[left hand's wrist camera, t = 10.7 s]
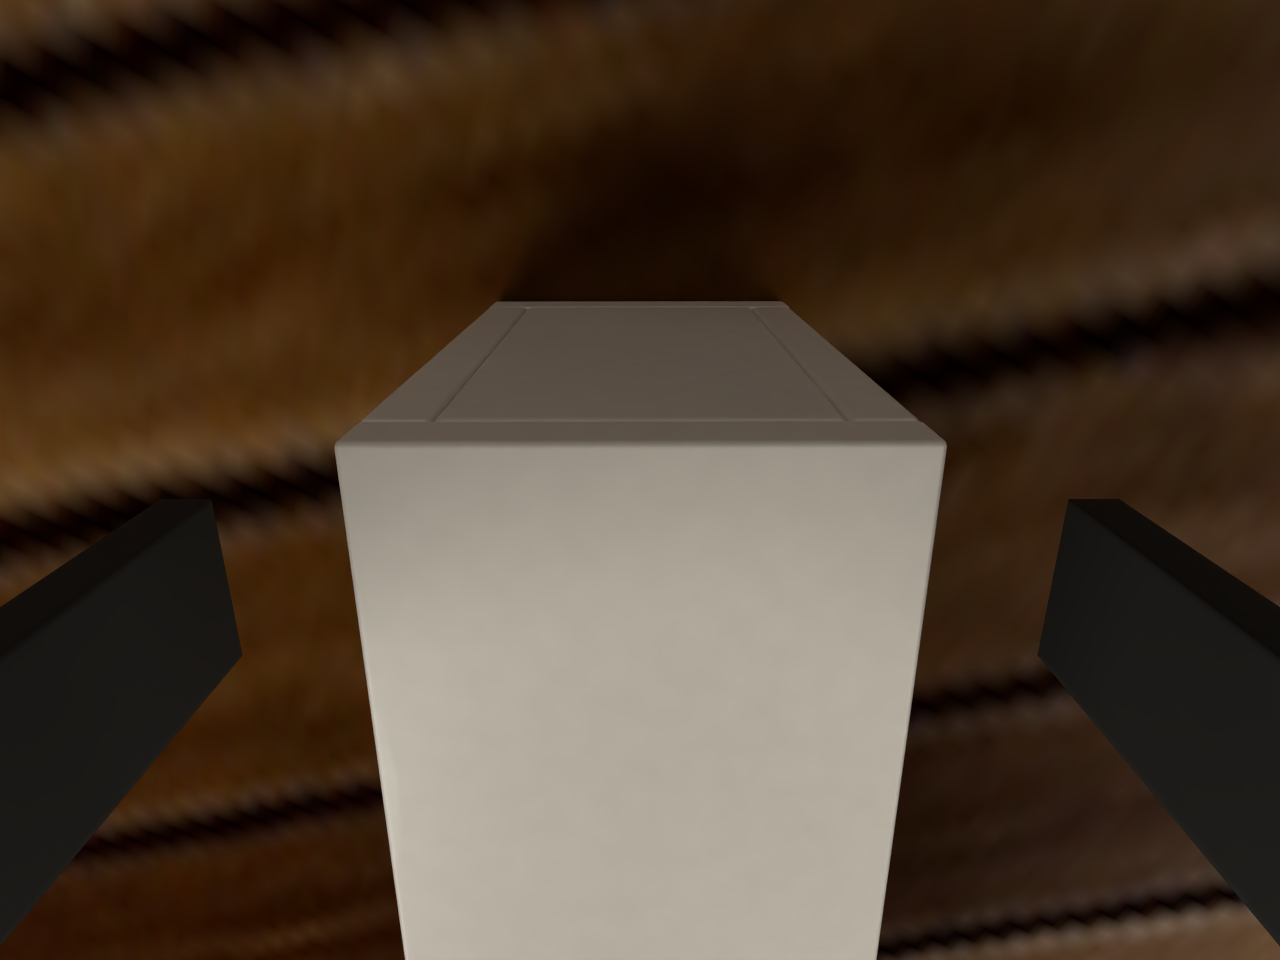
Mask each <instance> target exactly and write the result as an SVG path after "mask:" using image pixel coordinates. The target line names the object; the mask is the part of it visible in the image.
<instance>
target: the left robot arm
mask: <svg viewBox="0 0 1280 960" xmlns="http://www.w3.org/2000/svg"><path fill="white" fill-rule="evenodd" d="M241 656H242V651H241V646H240V641H239V636H238V631H237V626H236V621H235V616H234V611H233V606H232V601H231V596H230V591H229V586H228V581H227V576H226V571H225V566H224V561H223V556H222V551H221V545H220V540H219V535H218V530H217V525H216V520H215V515H214V510H213V505H212V500H211V499H161V500H159V501H158V502H156V503H155V504H153V505H152V506H150V507H149V508H147V509H146V510H144V511H143V512H141V513H140V514H138V515H137V516H135V517H134V518H132V519H131V520H129V521H128V522H126V523H125V524H123V525H122V526H120V527H119V528H117V529H116V530H115V531H113V532H112V533H110V534H109V535H107V536H106V537H104V538H103V539H101V540H100V541H98V542H97V543H95V544H94V545H92V546H91V547H89V548H88V549H86V550H85V551H83V552H82V553H80V554H79V555H77V556H76V557H74V558H73V559H71V560H70V561H68V562H67V563H65V564H64V565H62V566H61V567H59V568H58V569H56V570H55V571H54V572H52V573H51V574H49V575H48V576H46V577H45V578H43V579H42V580H40V581H39V582H37V583H36V584H34V585H33V586H31V587H30V588H28V589H27V590H25V591H24V592H22V593H21V594H19V595H18V596H16V597H15V598H13V599H12V600H10V601H9V602H7V603H6V604H4V605H3V606H1V607H0V946H1V944H2V943H3V942H4V941H5V940H6V938H7V937H8V936H9V935H10V934H11V932H12V931H13V930H14V929H15V928H16V926H17V925H18V924H19V923H20V922H21V920H22V919H23V918H24V917H25V916H26V914H27V913H28V912H29V911H30V910H31V908H32V907H33V906H34V905H35V904H36V902H37V901H38V900H39V899H40V898H41V896H42V895H43V894H44V893H45V892H46V890H47V889H48V888H49V887H50V886H51V884H52V883H53V882H54V881H55V880H56V878H57V877H58V876H59V875H60V874H61V872H62V871H63V870H64V869H65V868H66V866H67V865H68V864H69V863H70V862H71V860H72V859H73V858H74V857H75V856H76V854H77V853H78V852H79V851H80V850H81V848H82V847H83V846H84V845H85V844H86V842H87V841H88V840H89V839H90V838H91V836H92V835H93V834H94V833H95V832H96V830H97V829H98V828H99V827H100V826H101V824H102V823H103V822H104V821H105V820H106V818H107V817H108V816H109V815H110V813H111V812H112V811H113V810H114V809H115V807H116V806H117V805H118V804H119V803H120V801H121V800H122V799H123V798H124V797H125V795H126V794H127V793H128V792H129V791H130V789H131V788H132V787H133V786H134V785H135V783H136V782H137V781H138V780H139V779H140V777H141V776H142V775H143V774H144V773H145V771H146V770H147V769H148V768H149V767H150V765H151V764H152V763H153V762H154V761H155V759H156V758H157V757H158V756H159V755H160V753H161V752H162V751H163V750H164V749H165V747H166V746H167V745H168V744H169V743H170V741H171V740H172V739H173V738H174V737H175V735H176V734H177V733H178V732H179V731H180V729H181V728H182V727H183V726H184V725H185V723H186V722H187V721H188V720H189V719H190V717H191V716H192V715H193V714H194V713H195V711H196V710H197V709H198V708H199V707H200V705H201V704H202V703H203V702H204V701H205V699H206V698H207V697H208V696H209V695H210V693H211V692H212V691H213V690H214V689H215V687H216V686H217V685H218V684H219V683H220V681H221V680H222V679H223V678H224V677H225V675H226V674H227V673H228V672H229V671H230V669H231V668H232V667H233V666H234V665H235V663H236V662H237V661H238V660H239V659H240V657H241ZM1038 656H1039V657H1040V659H1041V660H1042V661H1043V662H1044V663H1045V665H1046V666H1047V667H1048V668H1049V669H1050V671H1051V672H1052V673H1053V674H1054V675H1055V677H1056V678H1057V679H1058V680H1059V681H1060V683H1061V684H1062V685H1063V686H1064V687H1065V689H1066V690H1067V691H1068V692H1069V693H1070V695H1071V696H1072V697H1073V698H1074V699H1075V701H1076V702H1077V703H1078V704H1079V705H1080V707H1081V708H1082V709H1083V710H1084V711H1085V713H1086V714H1087V715H1088V716H1089V717H1090V719H1091V720H1092V721H1093V722H1094V723H1095V725H1096V726H1097V727H1098V728H1099V729H1100V731H1101V732H1102V733H1103V734H1104V735H1105V737H1106V738H1107V739H1108V740H1109V741H1110V743H1111V744H1112V745H1113V746H1114V747H1115V749H1116V750H1117V751H1118V752H1119V753H1120V755H1121V756H1122V757H1123V758H1124V759H1125V761H1126V762H1127V763H1128V764H1129V765H1130V767H1131V768H1132V769H1133V770H1134V771H1135V773H1136V774H1137V775H1138V776H1139V777H1140V779H1141V780H1142V781H1143V782H1144V783H1145V785H1146V786H1147V787H1148V788H1149V789H1150V791H1151V792H1152V793H1153V794H1154V795H1155V797H1156V798H1157V799H1158V800H1159V801H1160V803H1161V804H1162V805H1163V806H1164V807H1165V809H1166V810H1167V811H1168V812H1169V813H1170V815H1171V816H1172V817H1173V818H1174V819H1175V821H1176V822H1177V823H1178V824H1179V826H1180V827H1181V828H1182V829H1183V830H1184V832H1185V833H1186V834H1187V835H1188V836H1189V838H1190V839H1191V840H1192V841H1193V842H1194V844H1195V845H1196V846H1197V847H1198V848H1199V850H1200V851H1201V852H1202V853H1203V854H1204V856H1205V857H1206V858H1207V859H1208V860H1209V862H1210V863H1211V864H1212V865H1213V866H1214V868H1215V869H1216V870H1217V871H1218V872H1219V874H1220V875H1221V876H1222V877H1223V878H1224V880H1225V881H1226V882H1227V883H1228V884H1229V886H1230V887H1231V888H1232V889H1233V890H1234V892H1235V893H1236V894H1237V895H1238V896H1239V898H1240V899H1241V900H1242V901H1243V902H1244V904H1245V905H1246V906H1247V907H1248V908H1249V910H1250V911H1251V912H1252V913H1253V914H1254V916H1255V917H1256V918H1257V919H1258V920H1259V922H1260V923H1261V924H1262V925H1263V926H1264V928H1265V929H1266V930H1267V931H1268V932H1269V934H1270V935H1271V936H1272V937H1273V938H1274V940H1275V941H1276V942H1277V943H1278V944H1279V946H1280V607H1279V606H1277V605H1276V604H1274V603H1273V602H1271V601H1270V600H1268V599H1267V598H1265V597H1264V596H1262V595H1261V594H1259V593H1258V592H1256V591H1255V590H1253V589H1252V588H1250V587H1249V586H1247V585H1246V584H1244V583H1243V582H1241V581H1240V580H1238V579H1237V578H1235V577H1234V576H1232V575H1231V574H1229V573H1228V572H1227V571H1225V570H1224V569H1222V568H1221V567H1219V566H1218V565H1216V564H1215V563H1213V562H1212V561H1210V560H1209V559H1207V558H1206V557H1204V556H1203V555H1201V554H1200V553H1198V552H1197V551H1195V550H1194V549H1192V548H1191V547H1189V546H1188V545H1186V544H1185V543H1183V542H1182V541H1180V540H1179V539H1177V538H1176V537H1174V536H1173V535H1171V534H1170V533H1168V532H1167V531H1166V530H1164V529H1163V528H1161V527H1160V526H1158V525H1157V524H1155V523H1154V522H1152V521H1151V520H1149V519H1148V518H1146V517H1145V516H1143V515H1142V514H1140V513H1139V512H1137V511H1136V510H1134V509H1133V508H1131V507H1130V506H1128V505H1127V504H1125V503H1124V502H1122V501H1121V500H1119V499H1069V500H1068V505H1067V510H1066V515H1065V520H1064V525H1063V530H1062V535H1061V540H1060V546H1059V551H1058V556H1057V561H1056V566H1055V571H1054V576H1053V581H1052V586H1051V591H1050V596H1049V601H1048V606H1047V611H1046V616H1045V621H1044V626H1043V631H1042V636H1041V641H1040V646H1039V652H1038Z"/></svg>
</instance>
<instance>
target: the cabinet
mask: <svg viewBox="0 0 1280 960" xmlns="http://www.w3.org/2000/svg"><path fill="white" fill-rule="evenodd" d="M334 448H335V455H336V462H337V469H338V477H339V484H340V491H341V498H342V505H343V513H344V520H345V527H346V534H347V542H348V549H349V556H350V563H351V571H352V578H353V585H354V592H355V600H356V607H357V614H358V621H359V628H360V636H361V643H362V650H363V657H364V665H365V672H366V679H367V686H368V694H369V701H370V708H371V715H372V722H373V730H374V737H375V744H376V751H377V759H378V766H379V773H380V780H381V788H382V795H383V802H384V809H385V817H386V824H387V831H388V838H389V845H390V853H391V860H392V867H393V874H394V882H395V889H396V896H397V903H398V911H399V918H400V925H401V932H402V940H403V947H404V954H405V960H876V958H877V951H878V943H879V936H880V929H881V922H882V914H883V907H884V900H885V893H886V885H887V878H888V871H889V863H890V856H891V849H892V842H893V834H894V827H895V820H896V813H897V805H898V798H899V791H900V784H901V776H902V769H903V762H904V754H905V747H906V740H907V733H908V725H909V718H910V711H911V704H912V696H913V689H914V682H915V675H916V667H917V660H918V653H919V645H920V638H921V631H922V624H923V616H924V609H925V602H926V595H927V587H928V580H929V573H930V565H931V558H932V551H933V544H934V536H935V529H936V522H937V515H938V507H939V500H940V493H941V486H942V478H943V471H944V464H945V456H946V449H947V445H946V442H945V441H944V440H943V439H942V438H941V437H940V436H938V435H937V434H936V433H935V432H934V431H933V430H931V429H930V428H929V427H928V426H927V425H926V424H924V423H922V422H920V421H918V419H917V418H916V417H915V416H913V415H912V414H911V413H910V412H909V411H908V410H906V409H905V408H904V407H903V406H902V405H901V404H899V403H898V402H897V401H896V400H895V399H894V398H893V397H891V396H890V395H889V394H888V393H887V392H886V391H884V390H883V389H882V388H881V387H880V386H879V385H877V384H876V383H875V382H874V381H873V380H872V379H871V378H869V377H868V376H867V375H866V374H865V373H864V372H862V371H861V370H860V369H859V368H858V367H857V366H855V365H854V364H853V363H852V362H851V361H850V360H848V359H847V358H846V357H845V356H844V355H843V354H842V353H840V352H839V351H838V350H837V349H836V348H835V347H833V346H832V345H831V344H830V343H829V342H828V341H826V340H825V339H824V338H823V337H822V336H821V335H820V334H818V333H817V332H816V331H815V330H814V329H813V328H811V327H810V326H809V325H808V324H807V323H806V322H804V321H803V320H802V319H801V318H800V317H799V316H798V315H796V314H795V313H794V312H793V311H792V310H791V309H789V307H788V306H787V305H786V304H785V303H784V302H782V301H619V302H495V303H494V304H493V305H492V306H491V307H490V308H489V309H488V310H487V311H486V312H484V313H483V314H482V315H481V316H480V317H479V318H478V319H476V320H475V321H474V322H473V323H472V324H471V325H470V326H468V327H467V328H466V329H465V330H464V331H463V332H462V333H460V334H459V335H458V336H457V337H456V338H455V339H454V340H452V341H451V342H450V343H449V344H448V345H447V346H446V347H444V348H443V349H442V350H441V351H440V352H439V353H438V354H436V355H435V356H434V357H433V358H432V359H431V360H430V361H429V362H427V363H426V364H425V365H424V366H423V367H422V368H421V369H419V370H418V371H417V372H416V373H415V374H414V375H413V376H411V377H410V378H409V379H408V380H407V381H406V382H405V383H403V384H402V385H401V386H400V387H399V388H398V389H397V390H395V391H394V392H393V393H392V394H391V395H390V396H389V397H387V398H386V399H385V400H384V401H383V402H382V403H381V404H379V405H378V406H377V407H376V408H375V409H374V410H373V411H371V412H370V413H369V414H368V415H367V416H366V417H365V418H363V419H362V420H361V422H360V423H358V424H356V425H355V426H354V427H353V428H352V429H350V430H349V431H348V432H347V433H346V434H345V435H344V436H342V437H341V438H340V439H339V440H338V441H337V442H336V443H335V447H334Z"/></svg>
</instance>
